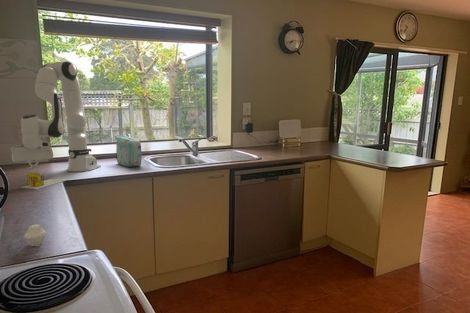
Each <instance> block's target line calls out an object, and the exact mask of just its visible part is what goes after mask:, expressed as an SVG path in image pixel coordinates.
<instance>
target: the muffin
mask: <svg viewBox="0 0 470 313" xmlns="http://www.w3.org/2000/svg"><path fill="white" fill-rule="evenodd" d="M46 235H47V232H46V230H44V229H43V228H42V226H41V225H40V224H32V225H30V226H29V227H28V230H27V231H26V233H25V234H24V240H25V242H27V243H28V245H29V246H31V247H32V246H36V247H38V246H37V245H39V246H41V245H42V244H43V242H44V241H45V238H46ZM40 244H41V245H40Z"/></svg>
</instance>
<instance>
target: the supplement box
mask: <svg viewBox="0 0 470 313" xmlns="http://www.w3.org/2000/svg"><path fill="white" fill-rule="evenodd" d="M26 179H27V181H26V182H27V183H26V184H27V185H31V186H32V187H36V186H43V185H44V181H45V176H44V174H43V173H41V172H39V171H36V172H35V171H34V172H27V173H26Z"/></svg>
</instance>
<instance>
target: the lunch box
mask: <svg viewBox="0 0 470 313" xmlns="http://www.w3.org/2000/svg"><path fill="white" fill-rule="evenodd" d="M115 145H116V147H115V148H116V153H115V159H116V162H117V164H119V165H121V166H123V167H126V168H127V167H128V168H133V167H134V168H135V167H140V166H141V165H142V143H141V140H139V139H137V138H134V137H130V136H129V135H124V136H118V138H117V139H116V144H115Z"/></svg>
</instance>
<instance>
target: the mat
mask: <svg viewBox="0 0 470 313" xmlns="http://www.w3.org/2000/svg"><path fill="white" fill-rule="evenodd" d="M63 182H66V180H64V179H56V178H55V179H54V178H49V179H46V180H45V179H44V185H43V186H36V187H32V186H31V185H29V184H27V185H24V186H20V188H21V189H28V190H29V189H31V190H39V189H42V188H46V187H49V186H53V185H57V184H60V183H63Z"/></svg>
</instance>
